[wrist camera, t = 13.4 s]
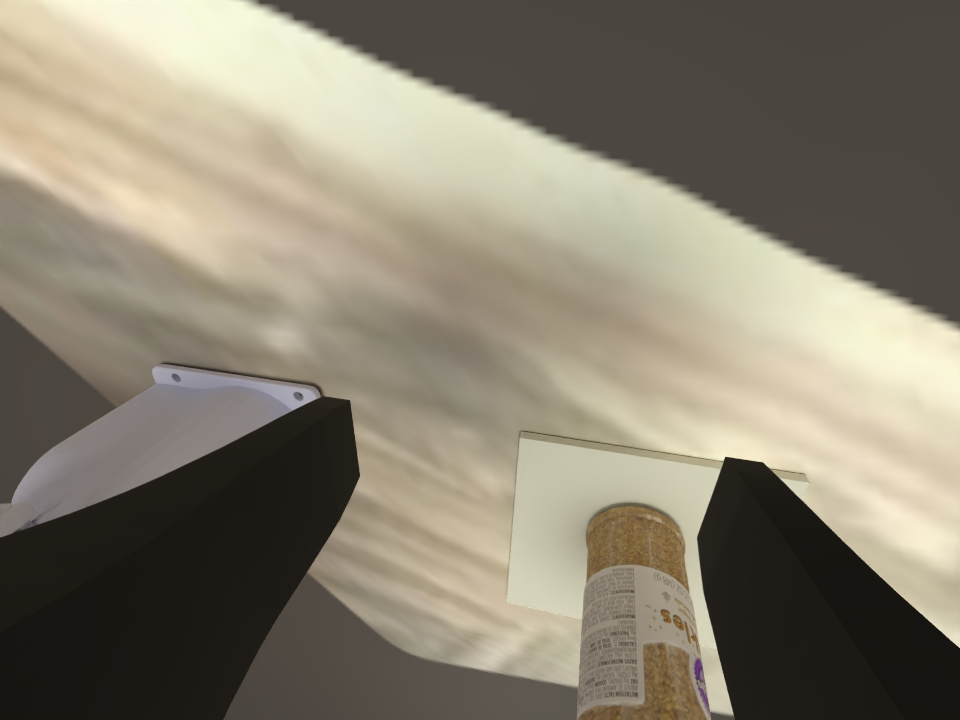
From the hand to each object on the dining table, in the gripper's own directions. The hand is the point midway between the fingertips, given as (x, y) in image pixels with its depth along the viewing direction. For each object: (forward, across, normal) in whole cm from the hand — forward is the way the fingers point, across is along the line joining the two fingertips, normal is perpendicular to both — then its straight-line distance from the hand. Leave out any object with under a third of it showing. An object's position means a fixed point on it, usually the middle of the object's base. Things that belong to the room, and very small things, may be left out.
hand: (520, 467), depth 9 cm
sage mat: (+10, -5, +13) cm, 17 cm away
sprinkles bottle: (+10, -5, +12) cm, 16 cm away
